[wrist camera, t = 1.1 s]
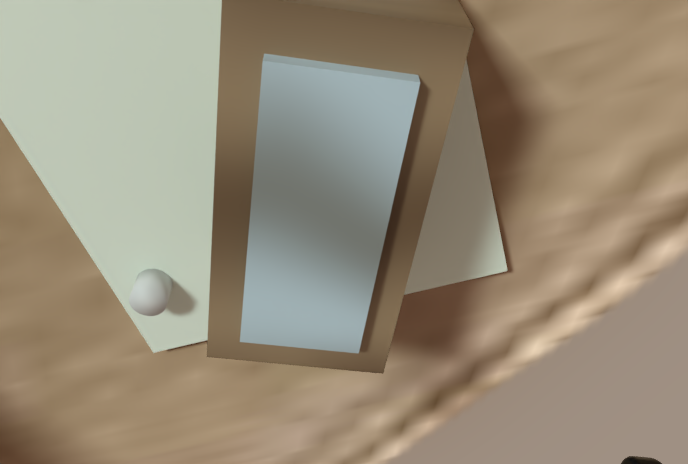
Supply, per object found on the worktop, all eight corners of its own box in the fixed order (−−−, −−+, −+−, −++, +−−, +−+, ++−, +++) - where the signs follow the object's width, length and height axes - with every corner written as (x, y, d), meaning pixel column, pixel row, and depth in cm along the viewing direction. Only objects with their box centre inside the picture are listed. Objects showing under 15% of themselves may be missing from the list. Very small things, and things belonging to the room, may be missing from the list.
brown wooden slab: (375, 280, 22) (383, 384, 19) (227, 264, 22) (204, 367, 18) (445, -25, 17) (477, 36, 13) (245, -56, 16) (219, -2, 12)
